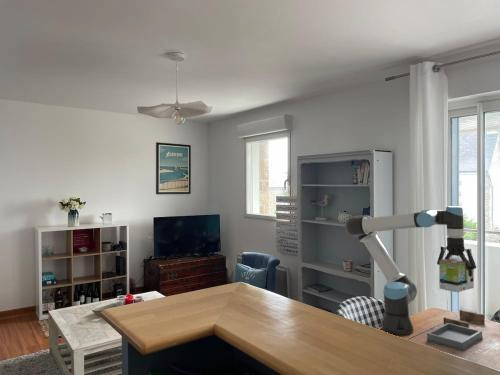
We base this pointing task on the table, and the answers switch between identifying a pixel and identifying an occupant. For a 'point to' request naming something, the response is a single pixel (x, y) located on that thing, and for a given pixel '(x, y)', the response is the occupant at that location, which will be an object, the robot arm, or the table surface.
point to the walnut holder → (466, 318)
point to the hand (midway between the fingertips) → (456, 280)
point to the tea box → (454, 275)
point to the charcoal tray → (454, 336)
